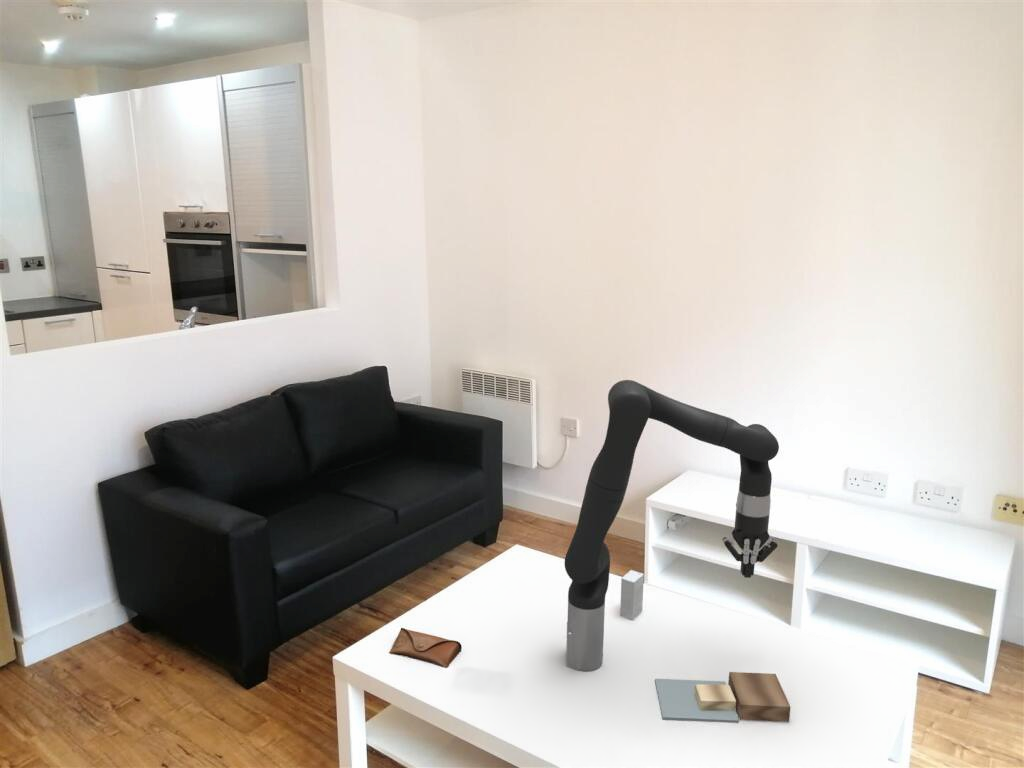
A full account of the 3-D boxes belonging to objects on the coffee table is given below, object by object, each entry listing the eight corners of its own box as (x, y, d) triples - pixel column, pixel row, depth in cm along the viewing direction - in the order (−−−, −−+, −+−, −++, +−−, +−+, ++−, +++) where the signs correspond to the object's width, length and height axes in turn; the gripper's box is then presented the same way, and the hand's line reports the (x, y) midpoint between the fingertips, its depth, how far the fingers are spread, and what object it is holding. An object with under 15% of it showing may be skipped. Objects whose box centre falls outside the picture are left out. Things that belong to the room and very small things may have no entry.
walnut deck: (739, 719, 170) (741, 704, 169) (728, 686, 182) (729, 671, 181) (788, 722, 170) (790, 706, 169) (774, 688, 181) (775, 673, 180)
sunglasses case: (385, 653, 194) (391, 626, 196) (397, 652, 200) (402, 626, 202) (448, 668, 188) (454, 641, 190) (458, 667, 194) (463, 640, 196)
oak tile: (700, 710, 173) (701, 701, 172) (694, 693, 178) (695, 684, 178) (735, 710, 172) (736, 701, 172) (728, 693, 178) (728, 684, 178)
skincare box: (629, 606, 217) (630, 569, 214) (642, 611, 214) (644, 573, 211) (619, 616, 212) (620, 577, 209) (632, 621, 210) (634, 582, 207)
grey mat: (662, 719, 170) (662, 717, 170) (654, 680, 184) (655, 678, 184) (738, 722, 169) (738, 720, 169) (725, 683, 183) (725, 681, 183)
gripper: (727, 515, 172) (722, 583, 177) (786, 516, 172) (779, 585, 176) (720, 502, 180) (715, 567, 184) (777, 503, 179) (770, 569, 183)
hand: (746, 576), depth 180 cm, fingers closed
